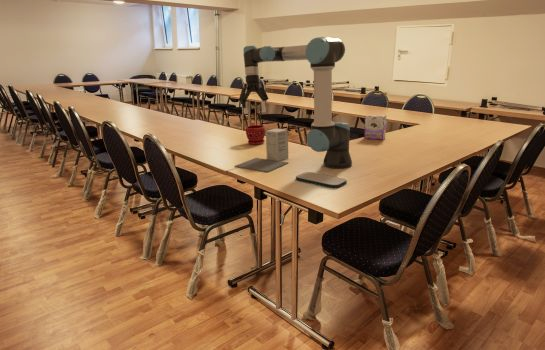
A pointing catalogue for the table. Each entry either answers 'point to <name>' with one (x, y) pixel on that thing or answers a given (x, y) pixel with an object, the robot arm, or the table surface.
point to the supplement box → (277, 144)
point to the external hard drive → (321, 180)
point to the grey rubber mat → (261, 164)
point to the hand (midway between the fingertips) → (255, 113)
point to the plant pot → (255, 134)
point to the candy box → (375, 127)
